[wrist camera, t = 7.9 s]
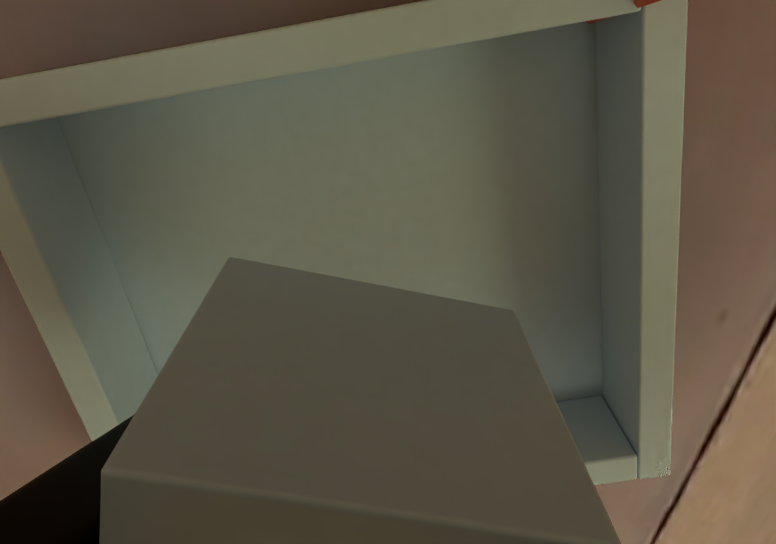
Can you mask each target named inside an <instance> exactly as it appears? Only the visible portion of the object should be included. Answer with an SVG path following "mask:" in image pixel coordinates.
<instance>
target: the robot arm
mask: <svg viewBox="0 0 776 544" xmlns="http://www.w3.org/2000/svg"><path fill="white" fill-rule="evenodd" d="M134 415H135V414H134ZM134 415H133V416H134ZM133 416H131V417H129V418H128V419H126V420H125V421H123V422H122V423H120V424H119V425H117V426H116V427H114V428H112V429H111V430H109V431H108V432H106V433H105V434H103V435H102V436H100V437H98V438H97V439H95V440H94V441H92V442H91V443H89V444H88V445H86V446H85V447H83V448H81V449H80V450H78V451H77V452H75V453H74V454H72V455H71V456H69V457H68V458H66V459H64V460H63V461H61V462H60V463H58V464H57V465H55V466H54V467H52V468H50V469H49V470H47V471H46V472H44V473H43V474H41V475H40V476H38V477H37V478H35V479H33V480H32V481H30V482H29V483H27V484H26V485H24V486H23V487H21V488H19V489H18V490H16V491H15V492H13V493H12V494H10V495H9V496H7V497H6V498H4V499H2V500H1V501H0V544H99V539H100V500H101V470H102V468H103V467H104V465H105V463H106V462H107V460H108V458H109V456H110V455H111V453H112V451H113V450H114V448H115V446H116V445H117V443H118V441H119V440H120V438H121V436H122V435H123V433H124V431H125V430H126V428H127V426H128V425H129V423H130V421H131V420H132V418H133Z"/></svg>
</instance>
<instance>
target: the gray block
mask: <svg viewBox="0 0 776 544" xmlns="http://www.w3.org/2000/svg"><path fill="white" fill-rule="evenodd" d="M99 544H621V542H620V540H619V538H618V536H617V534H616V532H615V529H614V527H613V525H612V523H611V521H610V518H609V516H608V514H607V512H606V510H605V508H604V505H603V503H602V501H601V499H600V497H599V494H598V492H597V490H596V488H595V486H594V484H593V481H592V479H591V477H590V475H589V473H588V470H587V468H586V466H585V464H584V462H583V460H582V457H581V455H580V453H579V451H578V449H577V446H576V444H575V442H574V440H573V438H572V436H571V433H570V431H569V429H568V427H567V425H566V422H565V420H564V418H563V416H562V414H561V412H560V409H559V407H558V405H557V403H556V401H555V398H554V396H553V394H552V392H551V390H550V388H549V385H548V383H547V381H546V379H545V377H544V374H543V372H542V370H541V368H540V366H539V364H538V361H537V359H536V357H535V355H534V353H533V350H532V348H531V346H530V344H529V342H528V340H527V337H526V335H525V333H524V331H523V329H522V326H521V324H520V322H519V320H518V318H517V316H516V313H515V312H514V311H513V310H509V309H504V308H499V307H493V306H488V305H483V304H478V303H472V302H467V301H462V300H456V299H451V298H446V297H441V296H435V295H430V294H425V293H419V292H414V291H409V290H403V289H398V288H393V287H388V286H382V285H377V284H372V283H366V282H361V281H356V280H351V279H345V278H340V277H335V276H329V275H324V274H319V273H314V272H308V271H303V270H298V269H292V268H287V267H282V266H277V265H271V264H266V263H261V262H255V261H250V260H245V259H240V258H234V257H230V258H228V259H227V261H226V263H225V264H224V266H223V268H222V269H221V271H220V273H219V274H218V276H217V278H216V279H215V281H214V283H213V284H212V286H211V288H210V289H209V291H208V293H207V294H206V296H205V298H204V299H203V301H202V303H201V304H200V306H199V308H198V309H197V311H196V313H195V314H194V316H193V318H192V319H191V321H190V323H189V324H188V326H187V328H186V330H185V331H184V333H183V335H182V336H181V338H180V340H179V341H178V343H177V345H176V346H175V348H174V350H173V351H172V353H171V355H170V356H169V358H168V360H167V361H166V363H165V365H164V366H163V368H162V370H161V371H160V373H159V375H158V376H157V378H156V380H155V381H154V383H153V385H152V386H151V388H150V390H149V391H148V393H147V395H146V396H145V398H144V400H143V401H142V403H141V405H140V406H139V408H138V410H137V411H136V413H135V415H134V416H133V418H132V420H131V421H130V423H129V425H128V426H127V428H126V430H125V431H124V433H123V435H122V436H121V438H120V440H119V441H118V443H117V445H116V446H115V448H114V450H113V451H112V453H111V455H110V456H109V458H108V460H107V462H106V463H105V465H104V467H103V468H102V470H101V500H100V539H99Z"/></svg>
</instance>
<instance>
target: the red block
mask: <svg viewBox="0 0 776 544" xmlns="http://www.w3.org/2000/svg"><path fill="white" fill-rule="evenodd" d="M633 1H634V4H635V6H636V7H637V8H639V7H643V6H646V5H649V4H652V3H655V2H658V1H661V0H633ZM607 18H609V17H607ZM603 19H606V18H601V19H596V20H590V21H586V22H587V23H588V24H590V23H594V22H597V21H600V20H603Z"/></svg>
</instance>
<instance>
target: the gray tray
mask: <svg viewBox="0 0 776 544" xmlns="http://www.w3.org/2000/svg"><path fill="white" fill-rule="evenodd" d="M687 16H688V0H661V1H658V2H655V3H652V4H649V5H646V6H643V7H639V8H637V7H636V6H635V4H634V1H633V0H423V1H418V2H412V3H407V4H402V5H396V6H391V7H386V8H380V9H375V10H369V11H364V12H359V13H353V14H348V15H343V16H337V17H332V18H326V19H321V20H316V21H310V22H305V23H300V24H294V25H289V26H283V27H278V28H273V29H267V30H262V31H257V32H251V33H246V34H240V35H235V36H230V37H224V38H219V39H214V40H208V41H203V42H197V43H192V44H187V45H181V46H176V47H171V48H165V49H160V50H154V51H149V52H144V53H138V54H133V55H128V56H122V57H117V58H111V59H106V60H101V61H95V62H90V63H85V64H79V65H74V66H68V67H63V68H58V69H52V70H47V71H42V72H36V73H31V74H25V75H20V76H15V77H9V78H4V79H0V250H1V253H2V255H3V257H4V259H5V261H6V263H7V265H8V267H9V269H10V271H11V273H12V276H13V278H14V280H15V282H16V284H17V286H18V288H19V290H20V292H21V294H22V297H23V299H24V301H25V303H26V305H27V307H28V309H29V311H30V313H31V315H32V317H33V320H34V322H35V324H36V326H37V328H38V330H39V332H40V334H41V336H42V338H43V340H44V343H45V345H46V347H47V349H48V351H49V353H50V355H51V357H52V359H53V361H54V364H55V366H56V368H57V370H58V372H59V374H60V376H61V378H62V380H63V382H64V384H65V387H66V389H67V391H68V393H69V395H70V397H71V399H72V401H73V403H74V405H75V407H76V410H77V412H78V414H79V416H80V418H81V420H82V422H83V424H84V426H85V428H86V431H87V433H88V435H89V437H90V439H91V441H94V440H95V439H97V438H98V437H100V436H102V435H103V434H105V433H106V432H108V431H109V430H111V429H112V428H114V427H116V426H117V425H119V424H120V423H122V422H123V421H125V420H126V419H128V418H129V417H131V416H133V415H134V414H135V413H136V411H137V410H138V408H139V406H140V405H141V403H142V401H143V400H144V398H145V396H146V395H147V393H148V391H149V390H150V388H151V386H152V385H153V383H154V381H155V380H156V378H157V376H158V375H159V373H160V371H161V370H162V368H163V366H164V365H165V363H166V361H167V360H168V358H169V356H170V355H171V353H172V351H173V350H174V348H175V346H176V345H177V343H178V341H179V340H180V338H181V336H182V335H183V333H184V331H185V330H186V328H187V326H188V324H189V323H190V321H191V319H192V318H193V316H194V314H195V313H196V311H197V309H198V308H199V306H200V304H201V303H202V301H203V299H204V298H205V296H206V294H207V293H208V291H209V289H210V288H211V286H212V284H213V283H214V281H215V279H216V278H217V276H218V274H219V273H220V271H221V269H222V268H223V266H224V264H225V263H226V261H227V259H228V258H230V257H234V258H240V259H245V260H250V261H255V262H261V263H266V264H271V265H277V266H282V267H287V268H292V269H298V270H303V271H308V272H314V273H319V274H324V275H329V276H335V277H340V278H345V279H351V280H356V281H361V282H366V283H372V284H377V285H382V286H388V287H393V288H398V289H403V290H409V291H414V292H419V293H425V294H430V295H435V296H441V297H446V298H451V299H456V300H462V301H467V302H472V303H478V304H483V305H488V306H493V307H499V308H504V309H509V310H513V311H514V312H515V313H516V316H517V318H518V320H519V322H520V324H521V326H522V329H523V331H524V333H525V335H526V337H527V340H528V342H529V344H530V346H531V348H532V350H533V353H534V355H535V357H536V359H537V361H538V364H539V366H540V368H541V370H542V372H543V374H544V377H545V379H546V381H547V383H548V385H549V388H550V390H551V392H552V394H553V396H554V398H555V401H556V403H557V405H558V407H559V409H560V412H561V414H562V416H563V418H564V420H565V422H566V425H567V427H568V429H569V431H570V433H571V436H572V438H573V440H574V442H575V444H576V446H577V449H578V451H579V453H580V455H581V457H582V460H583V462H584V464H585V466H586V468H587V470H588V473H589V475H590V477H591V479H592V481H593V484H594V485H599V484H606V483H614V482H621V481H628V480H635V479H637V477H638V478H639V479H646V478H653V477H660V476H667V475H670V465H671V438H672V412H673V386H674V359H675V333H676V306H677V280H678V254H679V227H680V201H681V174H682V148H683V122H684V95H685V69H686V43H687ZM607 17H609V18H607ZM601 18H606V19H603V20H600V21H597V22H594V23H590V24H588V23H587V22H586V21H590V20H596V19H601Z"/></svg>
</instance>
